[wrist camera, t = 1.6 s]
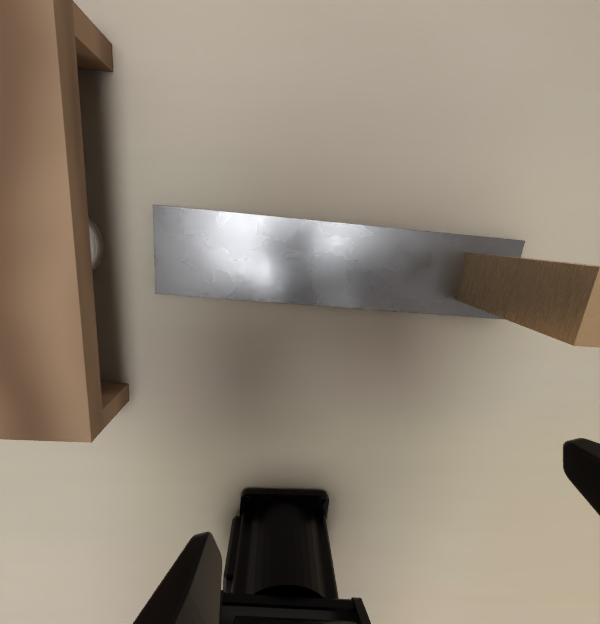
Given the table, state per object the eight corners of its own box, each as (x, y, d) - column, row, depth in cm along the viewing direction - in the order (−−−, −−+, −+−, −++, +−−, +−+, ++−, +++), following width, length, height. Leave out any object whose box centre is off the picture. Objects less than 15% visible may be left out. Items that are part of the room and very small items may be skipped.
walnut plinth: (111, 44, 15) (50, -24, 11) (129, 400, 20) (91, 442, 16) (-19, 25, 15) (-131, -53, 11) (32, 395, 20) (-32, 437, 16)
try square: (515, 240, 19) (697, 247, 11) (495, 315, 21) (646, 374, 12) (158, 205, 18) (45, 182, 9) (160, 291, 19) (62, 339, 10)
